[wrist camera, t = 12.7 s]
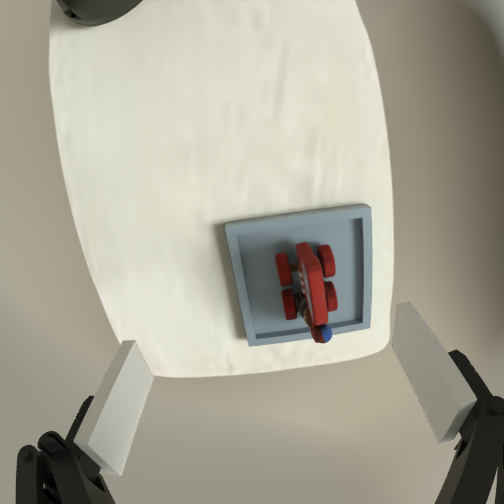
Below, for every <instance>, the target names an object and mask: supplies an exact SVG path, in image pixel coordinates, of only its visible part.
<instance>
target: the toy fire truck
mask: <svg viewBox="0 0 504 504" xmlns="http://www.w3.org/2000/svg"><path fill="white" fill-rule="evenodd" d="M295 251H296V257H297V263H294V264H289V260H288V255H287V253H286V252H283V253H278V254H276V255H275V260H276V265H277V271H278V275H279V280H280V284H281V286H283V287H284V286H289V285H292V284H293V280H292V275H291V272H294V271H299V275H300V281H301V287H302V292H303V294H302V293H295V294H294V293H293V290H292V289H286V290H282V291H281V295H282V300H283V306H284V311H285V316H286V320H294V319H296V318H297V313H298V312H300V315H301V317H302V318H303V319H304V321H305V323H306V324H307V325H308V326H309V329H310V332H311V335H312V337H313V339H314V341H315V342H316V343H326V342H328V341H329V340H330V339H331V337H332V330H331V328H330V327H329V326H328V325H327V323H328V312H332V311H336V310H337V308H338V301H337V294H336V290H335V287H334V284H333V283H332V281H327V282H324V279H323V277H324V278H330V277H333V276H335V273H336V266H335V260H334V256H333V252H332V249H331V247H330V246H329V245H328V244H326V245H321V246H318V247H317V257H316V256H315V255H314V253H313V252H312V250H311V248H310V246H309V244H308V243H307V242H303V243H299V244H296V245H295Z"/></svg>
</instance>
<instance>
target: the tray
mask: <svg viewBox="0 0 504 504" xmlns="http://www.w3.org/2000/svg"><path fill="white" fill-rule="evenodd" d="M225 231H226V236H227V241H228V246H229V252H230V257H231V262H232V267H233V272H234V277H235V282H236V287H237V292H238V297H239V302H240V306H241V311H242V316H243V321H244V326H245V331H246V335H247V340H248V345H249V346H258V345H267V344H275V343H283V342H290V341H298V340H304V339H311V338H313V337H312V335H311V332H310V329H309V326H308V325H307V324H306V323H305V321H304V319H303V318H302V317H301V315H300V312H298V313H297V318H296V319H294V320H286V316H285V311H284V306H283V300H282V295H281V291H282V290H286V289H292V290H293V293H294V294H295V293H302V294H303V292H302V287H301V281H300V275H299V271H294V272H291V275H292V280H293V284H292V285H289V286H284V287H283V286H281V284H280V280H279V275H278V271H277V265H276V260H275V255H276V254H278V253H283V252H286V253H287V255H288V260H289V264H294V263H297V257H296V251H295V245H296V244H299V243H303V242H307V243H308V244H309V246H310V248H311V250H312V252H313V253H314V255H315V256H316V257H317V247H318V246H321V245H326V244H328V245H329V246H330V247H331V249H332V252H333V256H334V260H335V266H336V273H335V276H333V277H330V278H324V277H323V279H324V282H327V281H332V283H333V284H334V287H335V290H336V294H337V301H338V308H337V310H336V311H332V312H328V323H327V325H328V326H329V327H330V328H331V330H332V335H336V334H341V333H347V332H352V331H358V330H363V329H368V328H370V320H371V301H372V217H371V207H370V206H368V205H367V204H359V205H351V206H342V207H334V208H326V209H318V210H310V211H303V212H295V213H288V214H280V215H273V216H266V217H259V218H252V219H246V220H239V221H232V222H226V225H225Z"/></svg>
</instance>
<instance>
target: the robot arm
mask: <svg viewBox="0 0 504 504" xmlns="http://www.w3.org/2000/svg"><path fill="white" fill-rule="evenodd" d="M141 1H142V0H57V2H58V3H59V5H60V7H61V8H62V10H63V12H64V13H65V15H66V16H67V17H68V18H70V19H71V20H73V21H75V22H77V23H79V24H82V25H87V26H94V25H100V24H104V23H107V22H110V21H112V20H115V19H117V18H119V17H121V16H122V15H124V14H126V13H127V12H129V11H130V10H132V9H133V8H134V7H135V6H137V5H138V4H139V3H140V2H141ZM392 348H393V350H394V352H395V354H396V355H397V357H398V359H399V361H400V363H401V365H402V367H403V369H404V371H405V373H406V375H407V377H408V379H409V381H410V383H411V385H412V387H413V389H414V392H415V394H416V395H417V398H418V400H419V402H420V404H421V406H422V408H423V411H424V413H425V415H426V417H427V419H428V422H429V424H430V426H431V428H432V431H433V433H434V435H435V437H436V440H437V442H438V445H441V444H443V443H446V442H448V441H450V440H452V439H454V438H455V437H456V435H457V434H458V432H459V433H460V435H461V437H462V438H461V439H460V441H459V442H458V444H457V445H456V447H455V449H454V450H456V449H457V451H456V454H455V456H454V459H453V462H452V464H451V467H450V470H449V472H448V475H447V477H446V479H445V482H444V484H443V486H442V489H441V491H440V493H439V496H438V498H437V500H436V502H435V504H486V502H487V499H488V496H489V493H490V490H491V487H492V484H493V481H494V478H495V474H496V471H497V467H498V472H497V487H496V496H495V504H504V399H503V398H501V397H499V396H493V395H492V394H491V393H490V391H489V390H488V388H487V386H486V385H485V383H484V382H483V380H482V379H481V377H480V376H479V374H478V373H477V372H476V371H475V369H474V367H473V366H472V365H471V363H470V361H469V360H468V359H467V357H466V356H465V355H464V354H462V353H461V352H459V351H458V350H454V351H451V352H448V353H447V351H446V350H445V348H444V347H443V346H442V344H441V343H440V341H439V340H438V338H437V337H436V335H435V334H434V333H433V331H432V330H431V328H430V327H429V326H428V325H427V323H426V322H425V320H424V319H423V318H422V316H421V315H420V314H419V312H418V311H417V309H416V308H415V307H414V306H413V304H412V303H411V302H410V301H408V302H404V303H400V304H397V305H396V315H395V324H394V333H393V340H392ZM153 378H154V376H153V374H152V373H151V371H150V369H149V367H148V365H147V363H146V361H145V359H144V357H143V355H142V353H141V351H140V349H139V347H138V345H137V343H136V341H135V340H130V341H123V342H122V344H121V346H120V348H119V350H118V352H117V353H116V355H115V357H114V359H113V361H112V363H111V365H110V366H109V368H108V371H107V372H106V374H105V376H104V378H103V380H102V382H101V384H100V386H99V388H98V390H97V392H96V394H95V396H89V397H88V398H87V399H86V400H85V401H84V402H83V404H82V406H81V408H80V410H79V412H78V414H77V416H76V419H75V420H74V422H73V424H72V426H71V428H70V430H69V433H68V435H67V437H66V439H65V440H64V439H63V438H62V437H61V436H60V435H59V434H58V433H57V432H54V431H49V432H46V433H45V434H43V435H42V436H41V437H40V439H39V441H38V448H39V449H40V450H41V451H38V450H37V449H36V448H35V447H34V446H32V445H26V446H24V447H23V448H21V449H20V451H19V453H18V456H17V470H16V504H115V502H114V500H113V498H112V496H111V494H110V492H109V490H108V488H107V486H106V484H105V481H104V479H103V477H102V475H101V474H100V473H99V472H100V469H101V468H102V469H103V470H104V471H105V472H106V473H107V474H112V475H116V476H122V473H123V469H124V466H125V463H126V460H127V457H128V453H129V450H130V447H131V444H132V440H133V438H134V434H135V431H136V428H137V425H138V422H139V419H140V416H141V413H142V410H143V407H144V404H145V401H146V398H147V396H148V393H149V390H150V387H151V384H152V381H153ZM44 484H45V488H44V487H43V485H44Z"/></svg>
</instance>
